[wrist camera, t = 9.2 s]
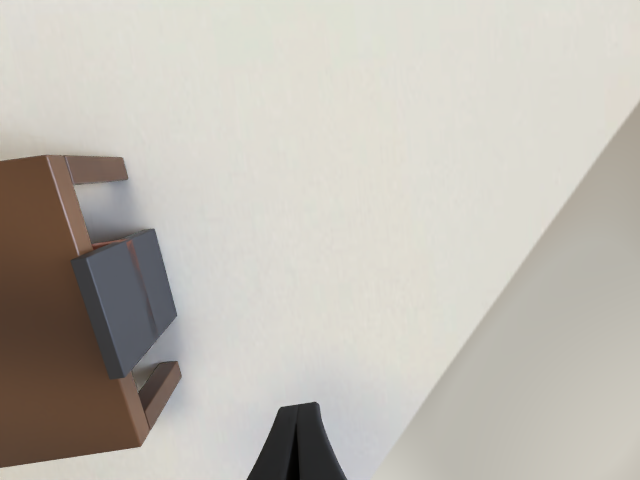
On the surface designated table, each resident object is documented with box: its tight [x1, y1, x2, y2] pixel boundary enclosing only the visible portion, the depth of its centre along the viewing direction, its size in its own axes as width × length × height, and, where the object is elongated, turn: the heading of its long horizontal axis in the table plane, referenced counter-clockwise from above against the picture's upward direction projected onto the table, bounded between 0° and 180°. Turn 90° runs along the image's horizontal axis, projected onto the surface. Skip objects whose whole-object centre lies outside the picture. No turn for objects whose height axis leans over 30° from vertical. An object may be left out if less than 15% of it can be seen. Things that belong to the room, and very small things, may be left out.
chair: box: [70, 229, 177, 380], centre depth 16 cm, size 6×6×6 cm
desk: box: [0, 155, 181, 468], centre depth 17 cm, size 14×9×5 cm, turn 8°
